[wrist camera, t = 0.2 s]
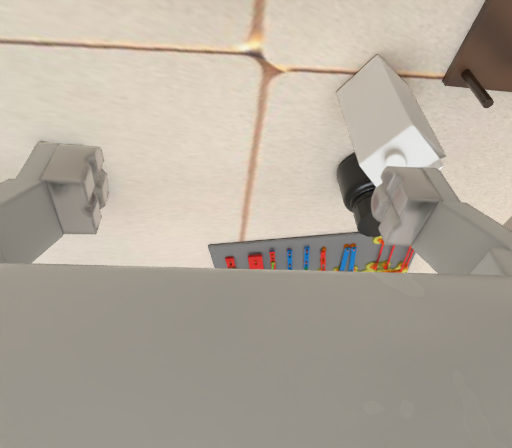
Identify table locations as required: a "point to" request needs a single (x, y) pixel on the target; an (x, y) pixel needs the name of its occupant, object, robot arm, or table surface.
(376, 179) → the milk carton
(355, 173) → the ink bottle
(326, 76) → the table surface
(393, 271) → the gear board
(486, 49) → the peg rack
